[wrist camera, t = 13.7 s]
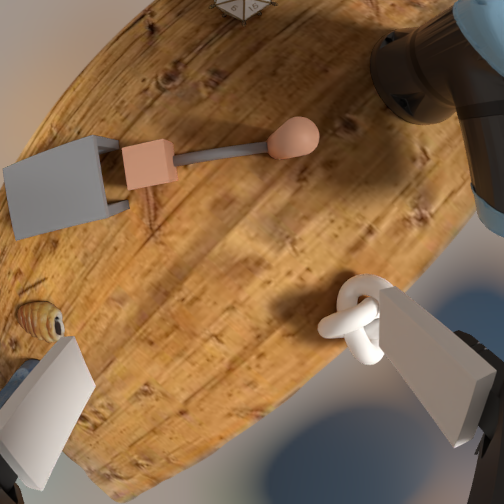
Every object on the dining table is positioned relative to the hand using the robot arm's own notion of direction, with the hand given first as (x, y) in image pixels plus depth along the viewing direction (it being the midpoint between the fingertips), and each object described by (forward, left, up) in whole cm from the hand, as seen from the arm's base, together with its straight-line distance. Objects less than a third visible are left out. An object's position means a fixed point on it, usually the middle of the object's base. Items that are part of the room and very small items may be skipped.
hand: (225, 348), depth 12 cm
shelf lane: (+20, -9, -31) cm, 38 cm away
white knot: (-16, +16, -31) cm, 38 cm away
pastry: (+33, +10, -31) cm, 46 cm away
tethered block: (+1, -9, -31) cm, 32 cm away
